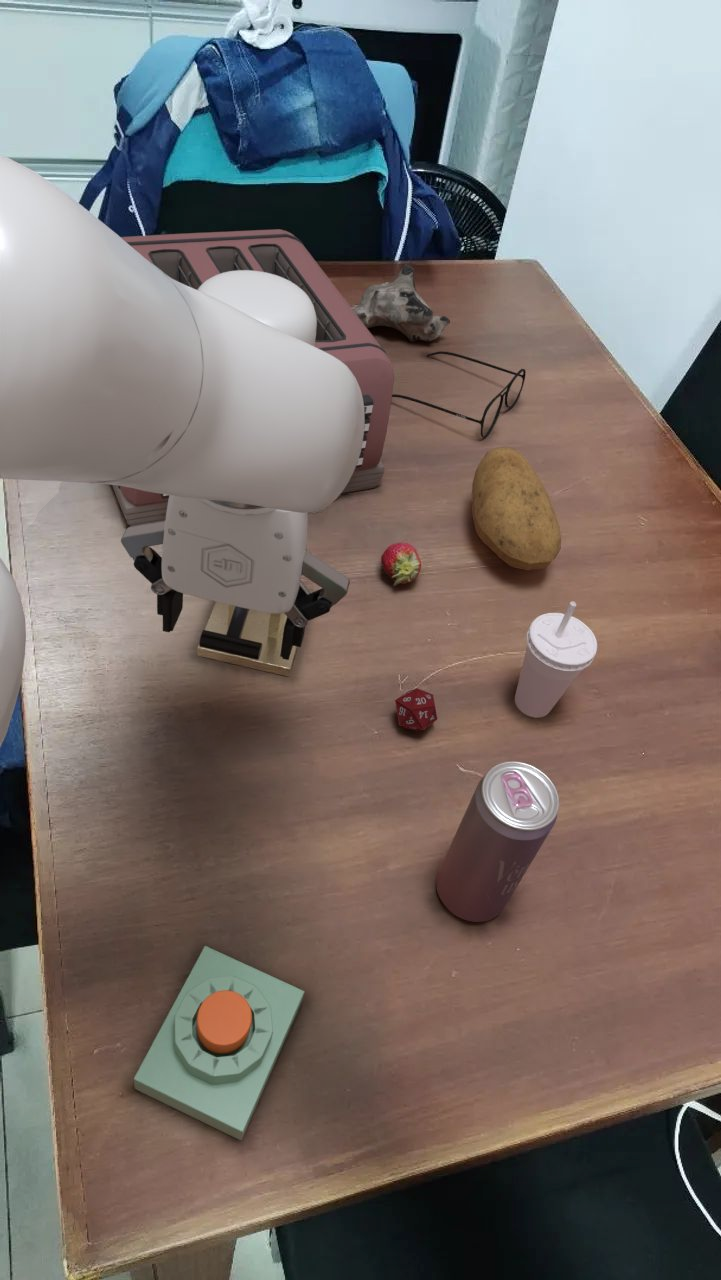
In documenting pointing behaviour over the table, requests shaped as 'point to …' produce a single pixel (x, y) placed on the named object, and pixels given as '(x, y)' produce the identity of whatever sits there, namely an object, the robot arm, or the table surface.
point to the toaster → (335, 335)
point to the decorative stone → (400, 308)
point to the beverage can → (497, 840)
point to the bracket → (252, 639)
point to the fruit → (401, 562)
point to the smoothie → (553, 660)
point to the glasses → (491, 400)
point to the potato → (514, 510)
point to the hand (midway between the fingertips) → (230, 633)
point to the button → (224, 1021)
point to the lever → (232, 638)
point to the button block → (213, 1080)
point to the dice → (416, 710)
